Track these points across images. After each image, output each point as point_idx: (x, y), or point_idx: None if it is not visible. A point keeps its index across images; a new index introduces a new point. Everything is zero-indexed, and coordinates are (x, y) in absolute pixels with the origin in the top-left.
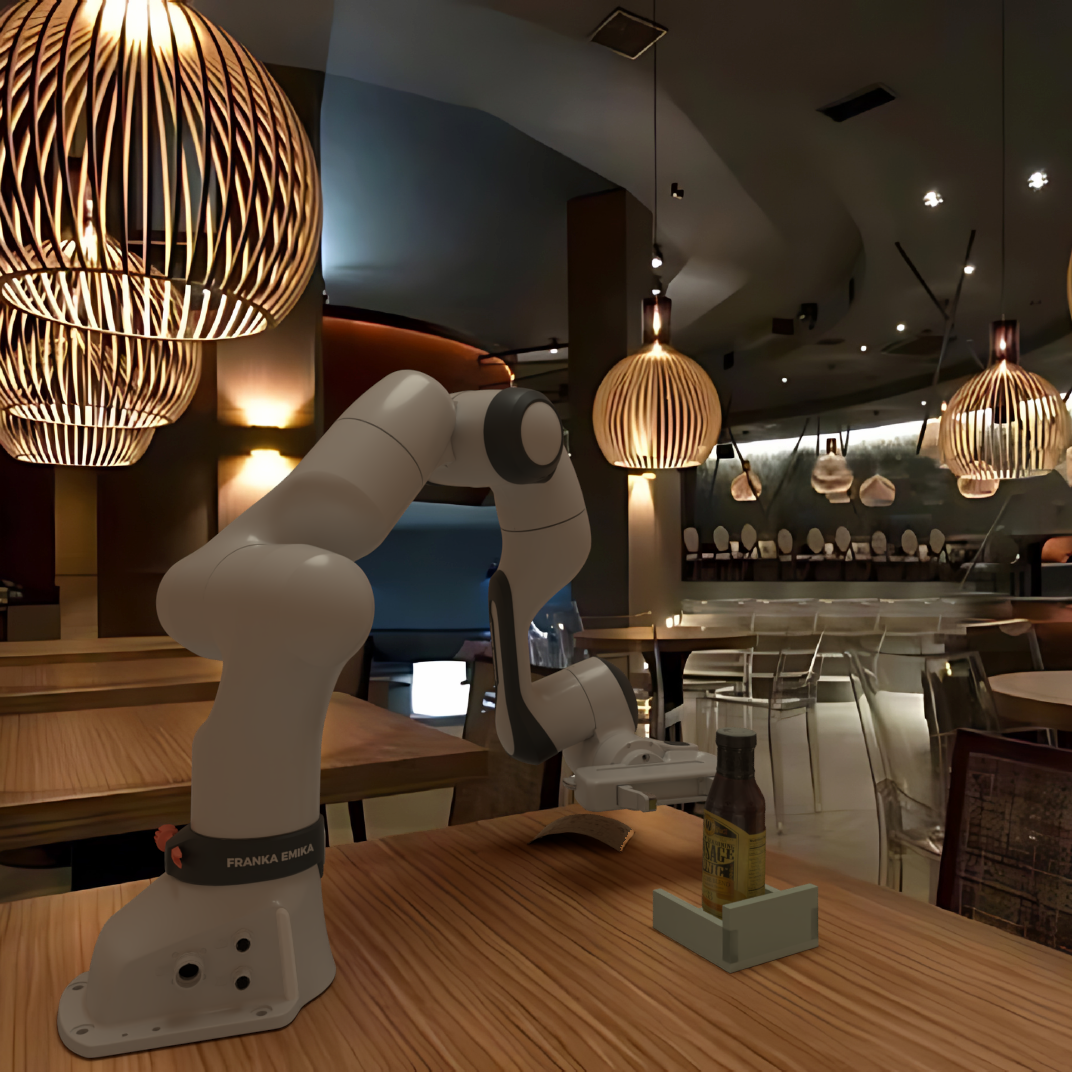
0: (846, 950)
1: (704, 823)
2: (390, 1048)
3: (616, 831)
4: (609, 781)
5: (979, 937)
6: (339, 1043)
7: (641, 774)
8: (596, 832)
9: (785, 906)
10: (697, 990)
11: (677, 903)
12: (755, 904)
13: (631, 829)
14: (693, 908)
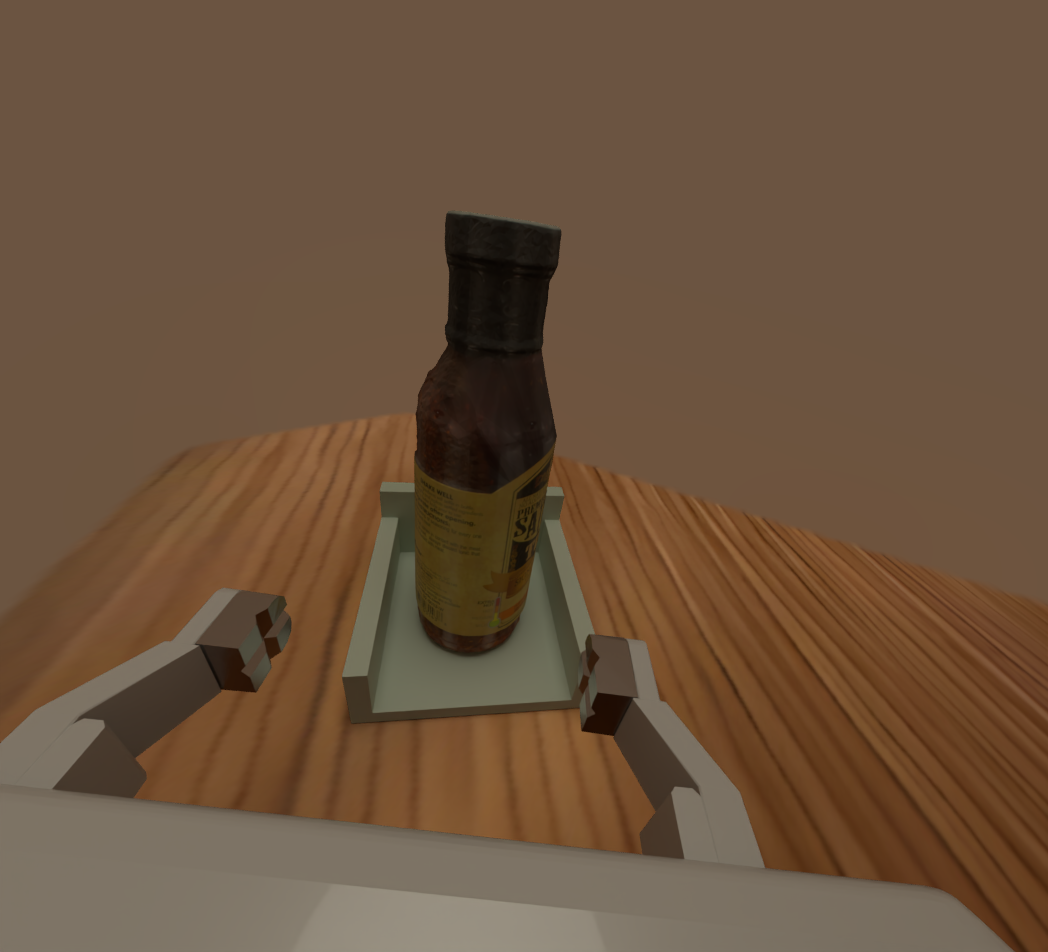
0: (366, 532)
1: (548, 473)
2: (932, 582)
3: None
4: (848, 877)
5: (181, 491)
6: (997, 607)
7: (567, 943)
8: None
9: None
10: (603, 542)
11: (582, 597)
12: None
13: None
14: (566, 572)
